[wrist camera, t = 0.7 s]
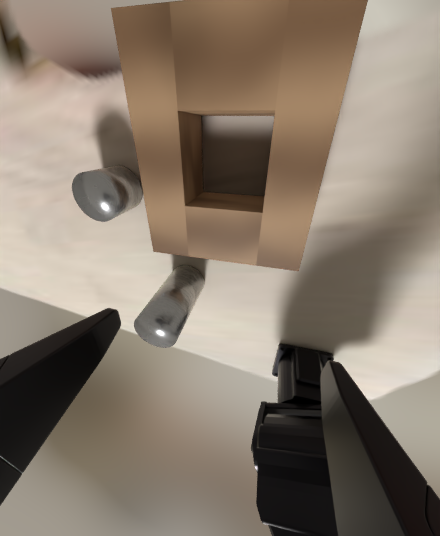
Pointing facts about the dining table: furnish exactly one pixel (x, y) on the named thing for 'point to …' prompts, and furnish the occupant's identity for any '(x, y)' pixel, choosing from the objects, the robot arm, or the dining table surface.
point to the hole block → (235, 104)
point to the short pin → (106, 192)
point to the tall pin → (170, 307)
